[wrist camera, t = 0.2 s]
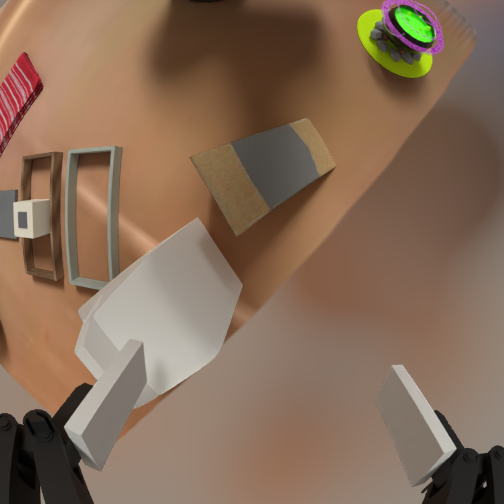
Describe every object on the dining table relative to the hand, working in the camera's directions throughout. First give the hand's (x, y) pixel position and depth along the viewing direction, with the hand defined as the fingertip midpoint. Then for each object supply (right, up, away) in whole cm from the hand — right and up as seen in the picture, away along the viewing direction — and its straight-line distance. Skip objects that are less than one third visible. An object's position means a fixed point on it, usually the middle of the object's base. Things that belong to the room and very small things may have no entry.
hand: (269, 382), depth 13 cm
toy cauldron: (+24, +42, +18) cm, 52 cm away
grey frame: (-27, +12, +26) cm, 39 cm away
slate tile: (-53, +15, +27) cm, 61 cm away
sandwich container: (+3, +19, +24) cm, 31 cm away
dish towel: (-55, +38, +22) cm, 71 cm away
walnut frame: (-40, +13, +27) cm, 49 cm away
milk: (-10, +4, +28) cm, 30 cm away
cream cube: (-39, +13, +27) cm, 49 cm away
